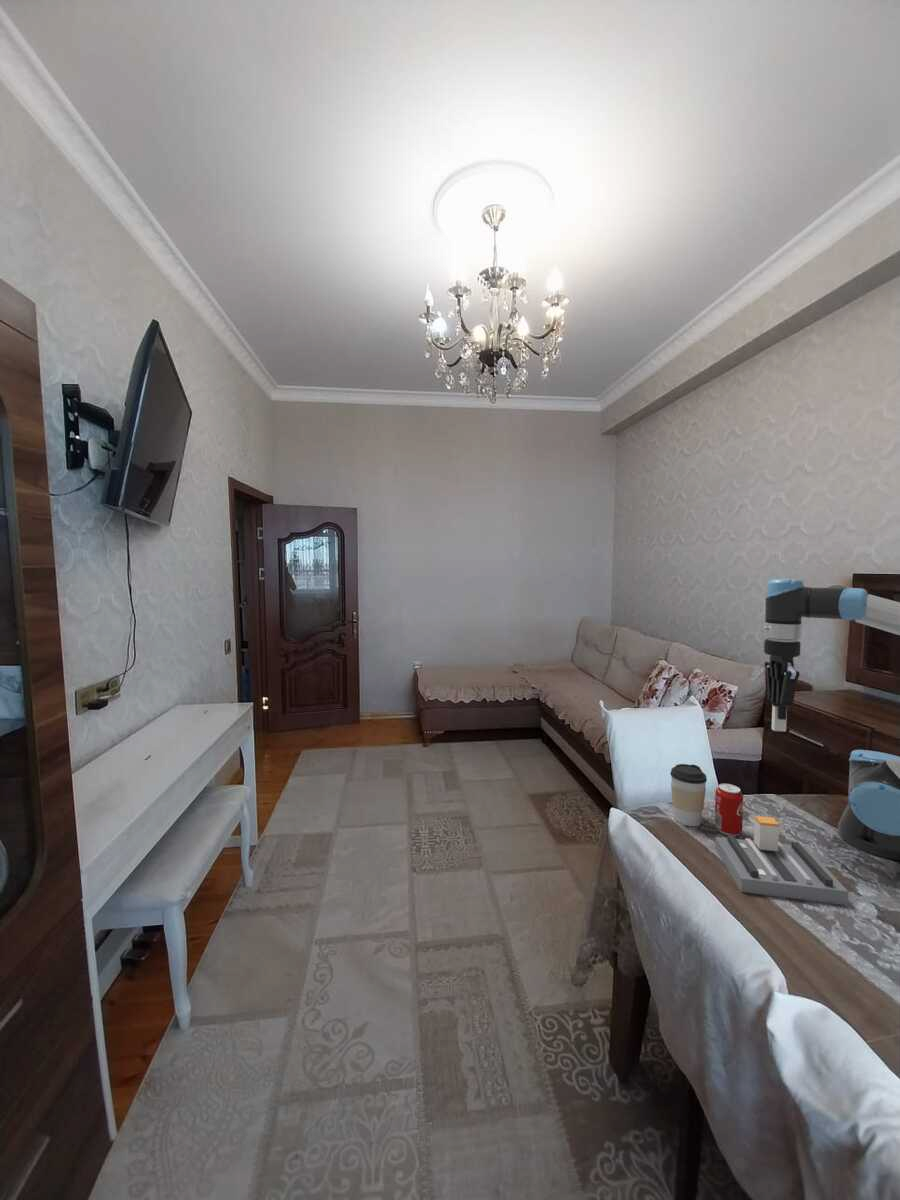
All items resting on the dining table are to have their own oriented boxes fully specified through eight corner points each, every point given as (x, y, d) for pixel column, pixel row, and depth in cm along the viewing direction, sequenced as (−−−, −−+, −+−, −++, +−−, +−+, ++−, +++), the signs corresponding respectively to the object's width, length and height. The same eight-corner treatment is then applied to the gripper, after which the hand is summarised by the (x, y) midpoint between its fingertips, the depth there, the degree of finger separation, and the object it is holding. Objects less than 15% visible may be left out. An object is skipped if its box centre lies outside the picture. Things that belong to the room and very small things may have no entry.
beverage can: (746, 839, 119) (747, 794, 119) (719, 836, 121) (720, 792, 120) (736, 826, 126) (737, 783, 125) (710, 823, 127) (712, 781, 126)
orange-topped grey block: (772, 844, 111) (773, 817, 111) (778, 851, 109) (779, 824, 108) (753, 842, 112) (754, 815, 112) (759, 849, 109) (760, 822, 109)
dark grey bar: (798, 859, 111) (799, 842, 111) (833, 900, 97) (834, 880, 97) (789, 858, 111) (790, 841, 111) (823, 899, 98) (824, 879, 97)
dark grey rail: (733, 852, 114) (734, 835, 114) (759, 891, 100) (759, 871, 100) (725, 851, 114) (726, 834, 114) (749, 890, 101) (750, 870, 100)
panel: (805, 858, 111) (806, 842, 111) (847, 905, 96) (848, 886, 96) (715, 848, 116) (715, 833, 115) (740, 891, 100) (741, 874, 100)
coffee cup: (689, 831, 123) (691, 777, 122) (662, 815, 131) (663, 764, 130) (713, 824, 127) (714, 771, 126) (684, 808, 135) (686, 758, 134)
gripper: (754, 635, 125) (751, 721, 126) (778, 643, 112) (774, 738, 113) (785, 636, 123) (782, 723, 125) (813, 644, 110) (809, 740, 112)
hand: (778, 730), depth 119 cm, fingers closed
